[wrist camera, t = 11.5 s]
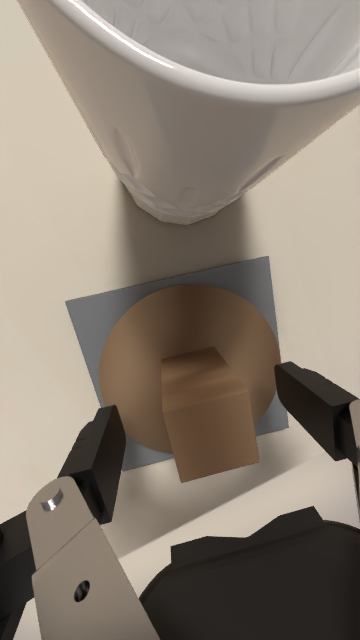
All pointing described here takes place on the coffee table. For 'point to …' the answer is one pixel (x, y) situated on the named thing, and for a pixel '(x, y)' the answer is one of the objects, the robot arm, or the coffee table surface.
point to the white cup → (202, 88)
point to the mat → (107, 308)
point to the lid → (192, 376)
